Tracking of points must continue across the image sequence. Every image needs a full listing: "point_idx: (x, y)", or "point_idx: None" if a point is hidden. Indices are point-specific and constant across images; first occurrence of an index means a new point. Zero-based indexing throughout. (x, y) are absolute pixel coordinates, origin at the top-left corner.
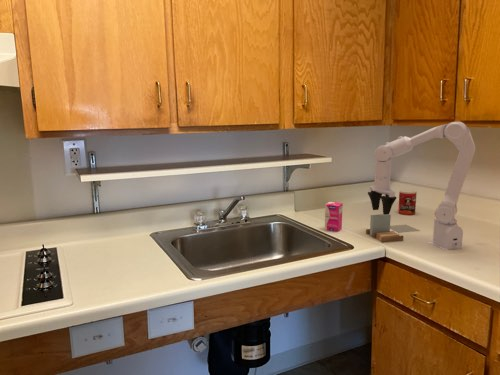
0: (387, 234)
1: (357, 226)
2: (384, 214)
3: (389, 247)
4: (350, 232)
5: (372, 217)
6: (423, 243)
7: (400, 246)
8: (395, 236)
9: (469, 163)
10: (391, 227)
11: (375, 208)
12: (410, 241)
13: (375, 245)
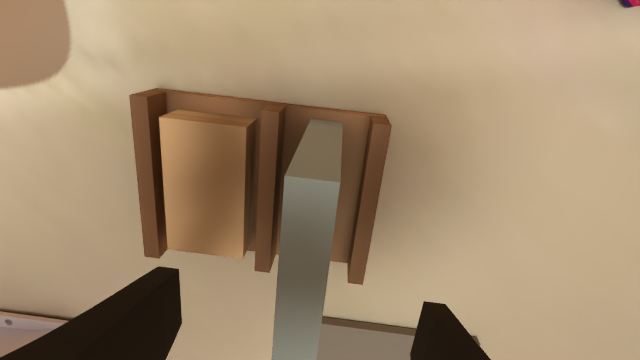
0: (189, 180)
1: (614, 201)
2: (157, 268)
3: (82, 89)
4: (511, 41)
5: (297, 169)
6: None
7: (94, 168)
8: (145, 205)
9: None
10: None
11: (424, 339)
12: None
13: (138, 20)
